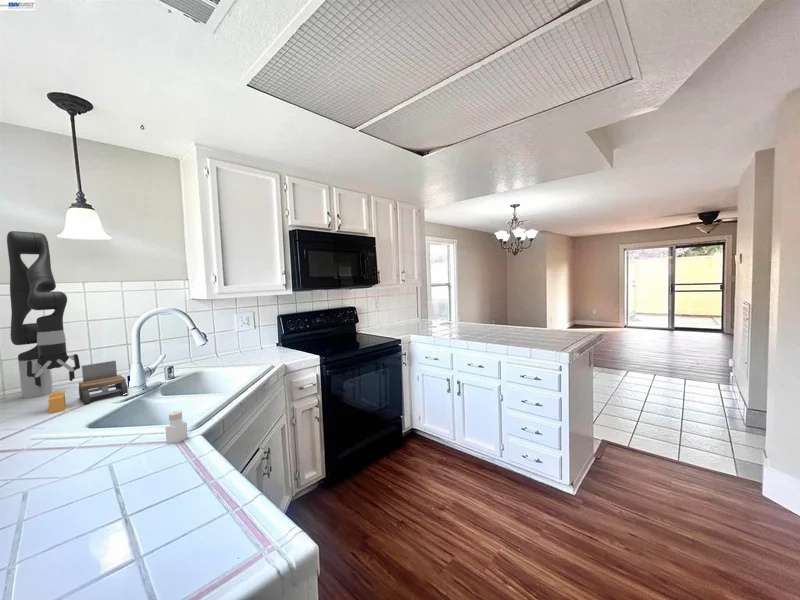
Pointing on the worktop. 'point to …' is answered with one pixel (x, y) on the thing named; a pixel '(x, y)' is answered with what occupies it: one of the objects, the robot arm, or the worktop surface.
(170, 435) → the pepper shaker
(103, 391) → the bench with backrest
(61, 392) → the chock
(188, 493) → the worktop surface
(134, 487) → the worktop surface
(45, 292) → the robot arm
